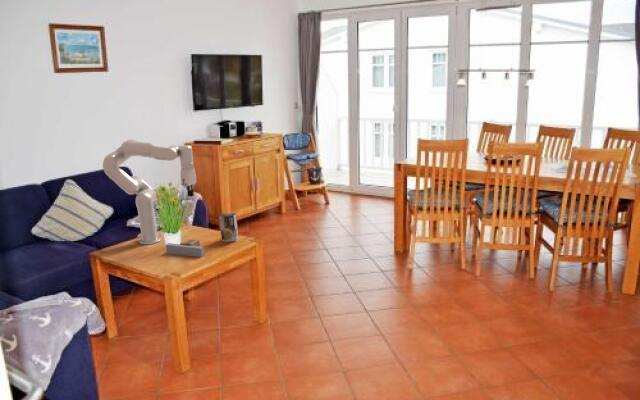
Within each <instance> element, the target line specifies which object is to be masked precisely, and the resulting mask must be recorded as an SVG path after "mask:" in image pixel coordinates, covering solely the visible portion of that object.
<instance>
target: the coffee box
mask: <svg viewBox="0 0 640 400" xmlns="http://www.w3.org/2000/svg"><path fill="white" fill-rule="evenodd" d="M218 219H219V226H220V235H221V242H222V243H223V242H227V243H228V242H237V241H238V240H239V238H240V237H239V228H238V220H237V219H238V218H237V213H236V212H229V213H227V212H226V213H221V214H220V215H219V216H218Z"/></svg>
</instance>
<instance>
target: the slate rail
mask: <svg viewBox="0 0 640 400" xmlns="http://www.w3.org/2000/svg"><path fill="white" fill-rule="evenodd" d="M165 250H166V251H165V252H166V254H170V255H180V256H190V257H198V258H199V257H200V258H203V257H204V256H205V247H204V246H201V245H200V246H191V245H181V244H180V243H170V242H169V243H166V244H165Z"/></svg>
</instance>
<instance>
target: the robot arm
mask: <svg viewBox="0 0 640 400" xmlns="http://www.w3.org/2000/svg"><path fill="white" fill-rule="evenodd" d="M192 147H193V146H192V145H188V144H185V145H170V146H169V147H162V146H161V147H160V146H155V145H153V144H152V143H150V142H141V141H137V140H135V139H127V140H126V141H124V142H122V143H121V145H120V146H119V147H118V148H117V149H115V150H114V151H112V152H110V153H108V154H107V155H106V156H105V157H104V159H103V162H102V169H103V172H104V174H105V175H106V176H108V178H109V179H110V180H112V182H114V183H115V184H116V185H117V186H118V187H119V188H120V189H121V190H123V192H125V193H126V194H128V195H136V197H135V205H136V206H135V207H136V208H137V214H138V221H139V228H140V233H138V235H137V238H140V240H139V244H141V245H153V244H158V243H159V242H161V241H162V238H161V237H160V236H159V234H158V228H157V227H158V226H157V220H156V212H155V207H154V202H155V201H156V199H157V192H156V191H155V190H154V189H153V188H152V186H150V185H149V184H148V183H147V182H146V181H144V180H143V179H142V178H141V177H139V176H136V175H134V176H133V175H132V176H130V175H129V174H128V173H127V172H126V171H125V170H123V169H122V168H120V167H119V166H120V165H122V164H124V163H125V162H126V161H127V160H129V159H130V158H131V157H139V158H149V159H153V160H159V161H174V160H176V159H177V158H179V160H180V161H179V162H180V174H179V175H180V185H181V186H182V187H183V189H186V191H187V192H186V193H187V196H188V197H194V196H195V194H194V187H195V185H197V174H196V169H195V166H194V165H195V162H194V155H193V148H192Z"/></svg>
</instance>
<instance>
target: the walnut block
mask: <svg viewBox="0 0 640 400" xmlns="http://www.w3.org/2000/svg"><path fill="white" fill-rule="evenodd" d="M179 244H181V245H191V246H201V245H200V239H189V238H187V239H185V240H184V241H181V242H180V243H179Z"/></svg>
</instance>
